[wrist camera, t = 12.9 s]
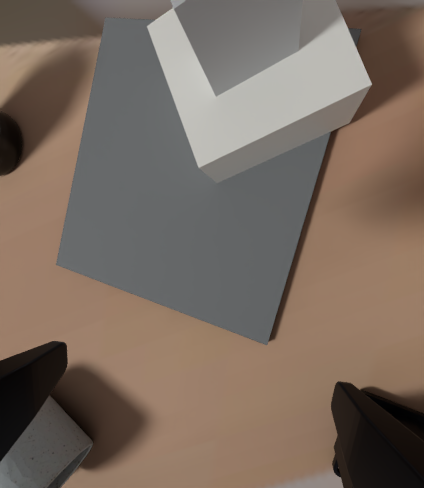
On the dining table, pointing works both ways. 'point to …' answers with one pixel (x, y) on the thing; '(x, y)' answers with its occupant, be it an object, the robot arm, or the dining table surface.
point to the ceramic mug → (45, 451)
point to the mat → (178, 200)
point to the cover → (257, 76)
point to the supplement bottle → (9, 143)
